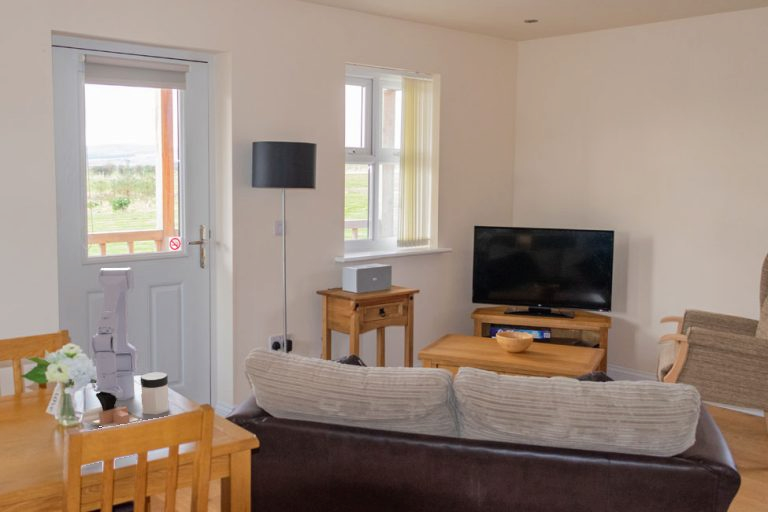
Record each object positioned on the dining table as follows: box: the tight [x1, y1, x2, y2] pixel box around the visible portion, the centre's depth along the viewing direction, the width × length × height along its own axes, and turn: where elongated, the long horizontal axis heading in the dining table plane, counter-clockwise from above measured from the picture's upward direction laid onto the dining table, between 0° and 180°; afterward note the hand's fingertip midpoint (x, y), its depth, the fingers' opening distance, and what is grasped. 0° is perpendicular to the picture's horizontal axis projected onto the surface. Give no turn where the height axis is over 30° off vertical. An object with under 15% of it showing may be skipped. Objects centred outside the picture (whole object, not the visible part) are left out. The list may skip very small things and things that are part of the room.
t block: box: [99, 405, 131, 425], centre depth 239 cm, size 8×8×3 cm
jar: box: [140, 371, 170, 415], centre depth 249 cm, size 9×8×12 cm
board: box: [81, 406, 145, 429], centre depth 243 cm, size 20×13×1 cm, turn 49°
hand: (108, 415), depth 243 cm, fingers closed
